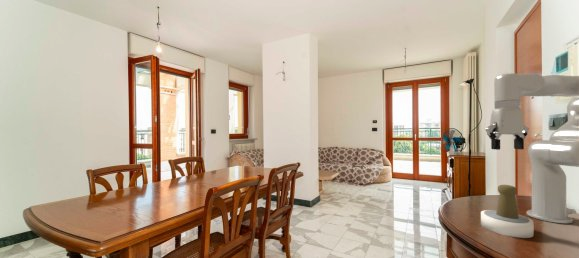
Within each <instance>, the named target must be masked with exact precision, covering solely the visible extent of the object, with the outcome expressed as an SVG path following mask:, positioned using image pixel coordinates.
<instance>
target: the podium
mask: <svg viewBox="0 0 579 258" xmlns="http://www.w3.org/2000/svg"><path fill="white" fill-rule="evenodd" d="M496 212H497V209H485V210H482V211H480V225H481V226H480V227H482V228H483V229H486V230H487V231H490V232H492V233H496V234H499V235H502V236H507V237H512V238H519V239H521V238H522V239H529V238H532V237H534V236H535V235H534V229H535V228H534V227H535V226H534V220H533V219H531V218H530V217H528V216H527V217H526V216H524V215H521V214H518V216H519V218H518V219H511V218H505V217H501V216H499V215H497V214H496Z"/></svg>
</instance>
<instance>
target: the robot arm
mask: <svg viewBox="0 0 579 258" xmlns="http://www.w3.org/2000/svg"><path fill="white" fill-rule="evenodd" d="M493 82H494V109H492V111H491V116H490V122H489V124H490V125H489V126H487V127H485V132H486V135H487V136H488V137H489V139H490V141H491V142H490V147H491V150H497V151H498V150H499V151H500V150H501V139H500V137H502V135H513V137H514V139H513V149H514V150H524V149H525V148H524V147H525V144H524V141H525V140H526V137H527V136H528V133H529V130H530V127H528V126H526V125H524V115H523V111H522V109H521V105H522V103H521V97H563V98H564V97H567V98H568V97H569V98H570V97H571V98H572V99H571V100H570V101H569V102H568V103H567V105H566V114H567V121H566V122H565V123H563V124H562V125H561V126H560V127H558V129H556V130H554V132H552V134H550V136H549V139H545V140H544V139H542V140H536V141H533V142H532V143H530V145H528V149H527V150H528V151H527V152H528V157H529V161H530V166H531V209H528V210H526V215H527V216H529V217H532V218H534V219H537V220H541V221H545V222H549V223H554V224H555V223H557V224H572V223H573V221H574V219H573V218H571V217H570V216H569V215H575V214H577V211H576V209H574V208H567V175H566V172H565V171H564V170H563V168H562V167H561V166H567V167H575V168H579V75H564V74H563V75H561V74H550V75H541V74H539V73H536V72H528V73H516V72H515V73H513V72H511V73H505V74H504V73H502V74H499V75H497V76H496V77H495V78H494V81H493ZM575 97H576V98H575Z"/></svg>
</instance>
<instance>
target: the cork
mask: <svg viewBox="0 0 579 258" xmlns="http://www.w3.org/2000/svg"><path fill="white" fill-rule="evenodd" d="M497 192H498V193H499V195H498V201H497V208H496V210H497V212H496V214H497V215H499V216H501V217H505V218H511V219H518V218H519V216H518V215H519V212H518V206H517V201H516V195H517V193H518V190H517V188H516V186H513V185H509V184H500V185H498V187H497Z"/></svg>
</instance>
